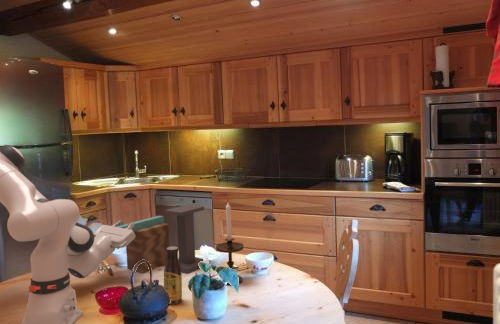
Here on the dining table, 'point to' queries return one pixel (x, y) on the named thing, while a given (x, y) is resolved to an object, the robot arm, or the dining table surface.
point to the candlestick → (229, 241)
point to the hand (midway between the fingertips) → (127, 222)
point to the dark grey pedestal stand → (186, 236)
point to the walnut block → (148, 247)
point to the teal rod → (145, 223)
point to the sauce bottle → (173, 276)
